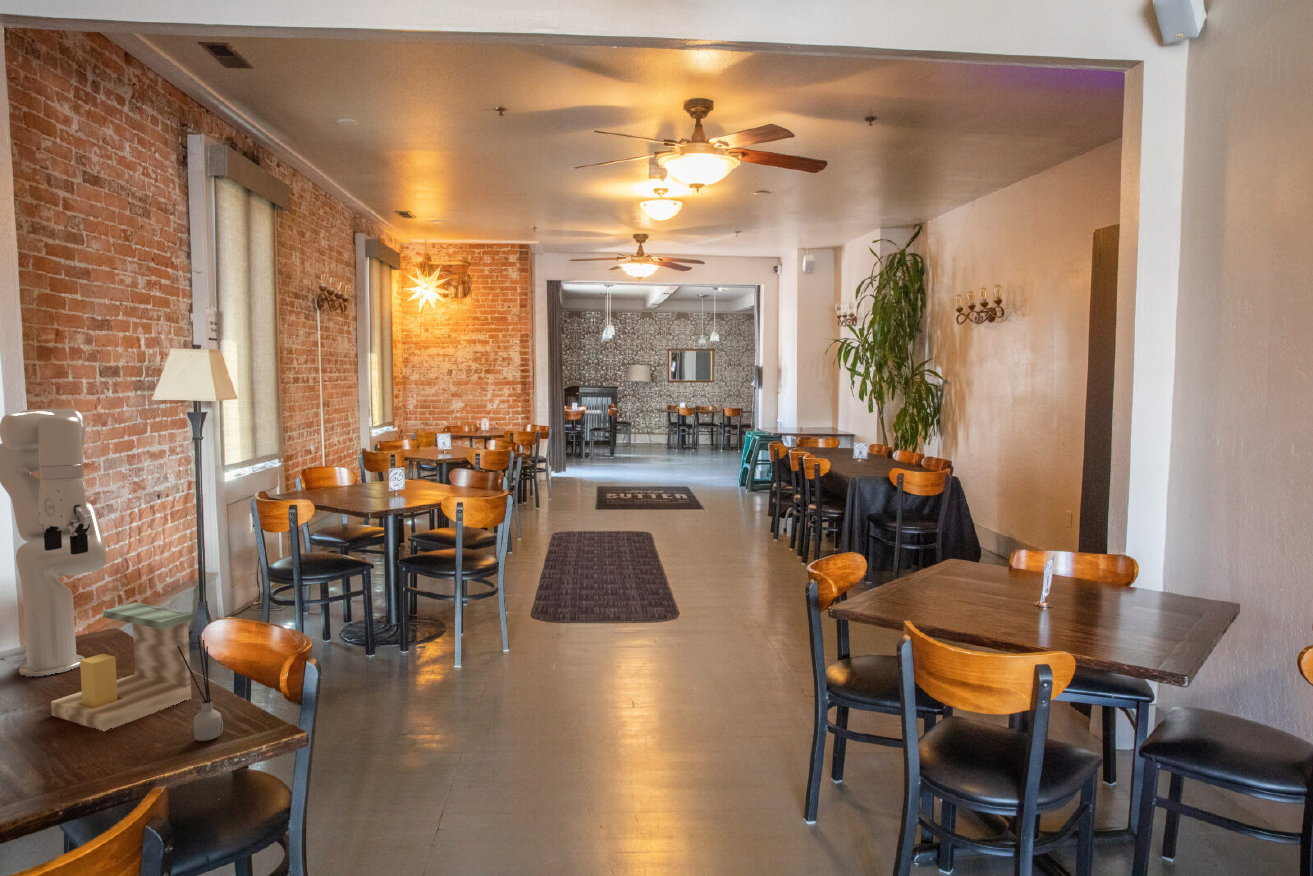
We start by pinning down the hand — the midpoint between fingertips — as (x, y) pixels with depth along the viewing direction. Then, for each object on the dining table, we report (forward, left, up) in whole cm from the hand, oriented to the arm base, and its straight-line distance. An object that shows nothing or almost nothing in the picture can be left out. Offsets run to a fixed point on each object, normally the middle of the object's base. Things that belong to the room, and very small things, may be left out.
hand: (66, 551), depth 173 cm
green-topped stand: (+16, +1, -32) cm, 36 cm away
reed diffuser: (+46, -2, -32) cm, 56 cm away
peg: (+16, -3, -32) cm, 36 cm away
